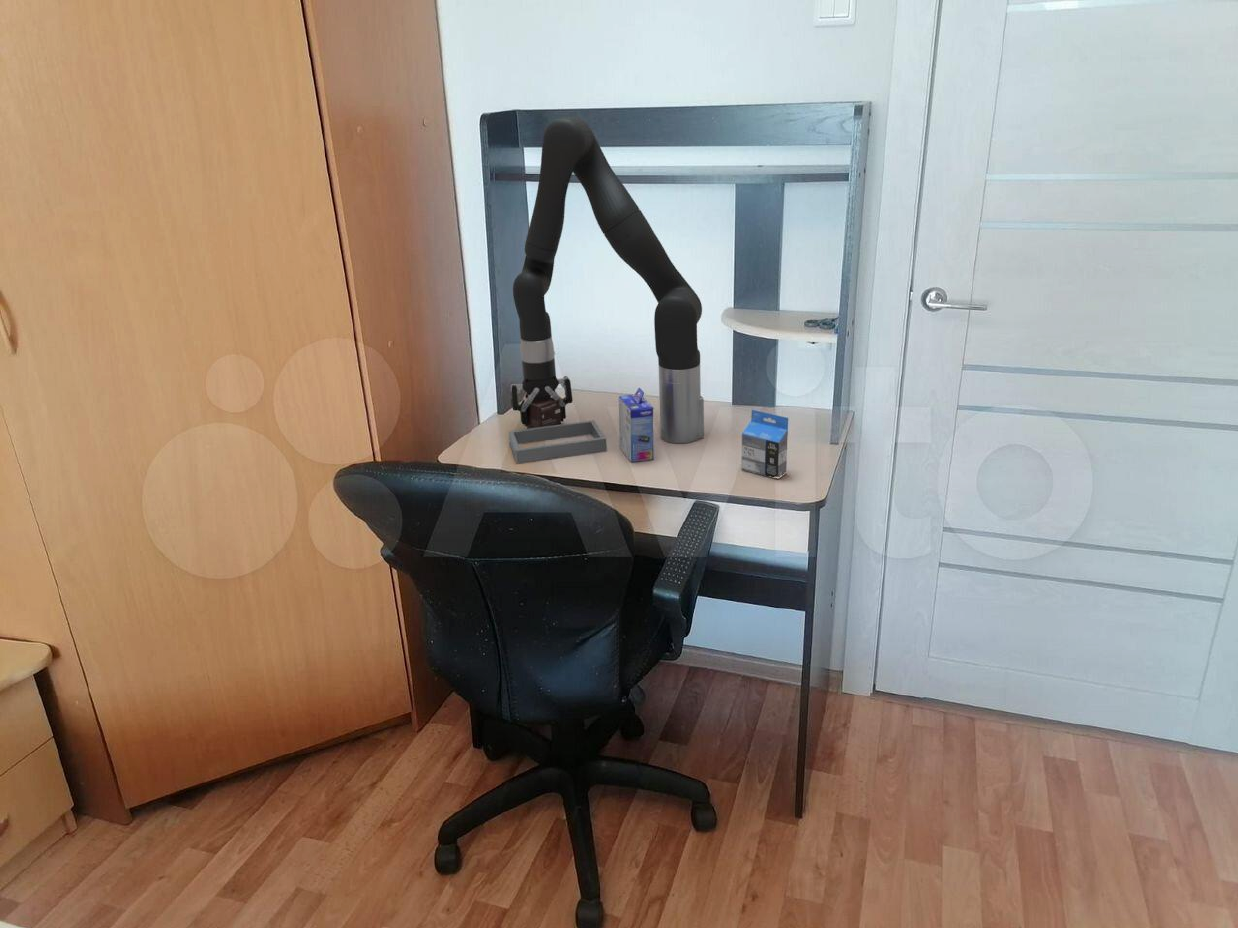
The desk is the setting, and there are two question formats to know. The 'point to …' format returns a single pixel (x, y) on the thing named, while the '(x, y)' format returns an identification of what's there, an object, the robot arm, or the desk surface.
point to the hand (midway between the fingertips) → (543, 422)
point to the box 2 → (561, 448)
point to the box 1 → (543, 413)
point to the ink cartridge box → (636, 427)
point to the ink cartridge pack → (765, 445)
